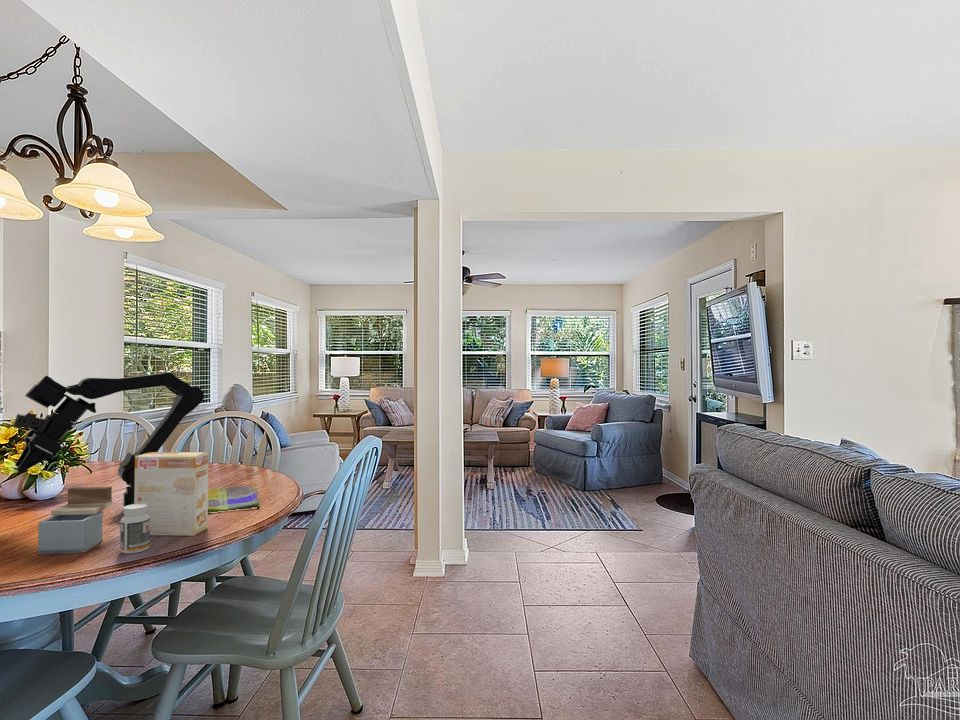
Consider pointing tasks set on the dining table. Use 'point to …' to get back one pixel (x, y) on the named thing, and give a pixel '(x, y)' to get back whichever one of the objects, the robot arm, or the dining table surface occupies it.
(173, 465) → the coffeecake box
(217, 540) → the dining table surface
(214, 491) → the dish towel
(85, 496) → the birch lid
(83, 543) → the slate box
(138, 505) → the pill bottle
